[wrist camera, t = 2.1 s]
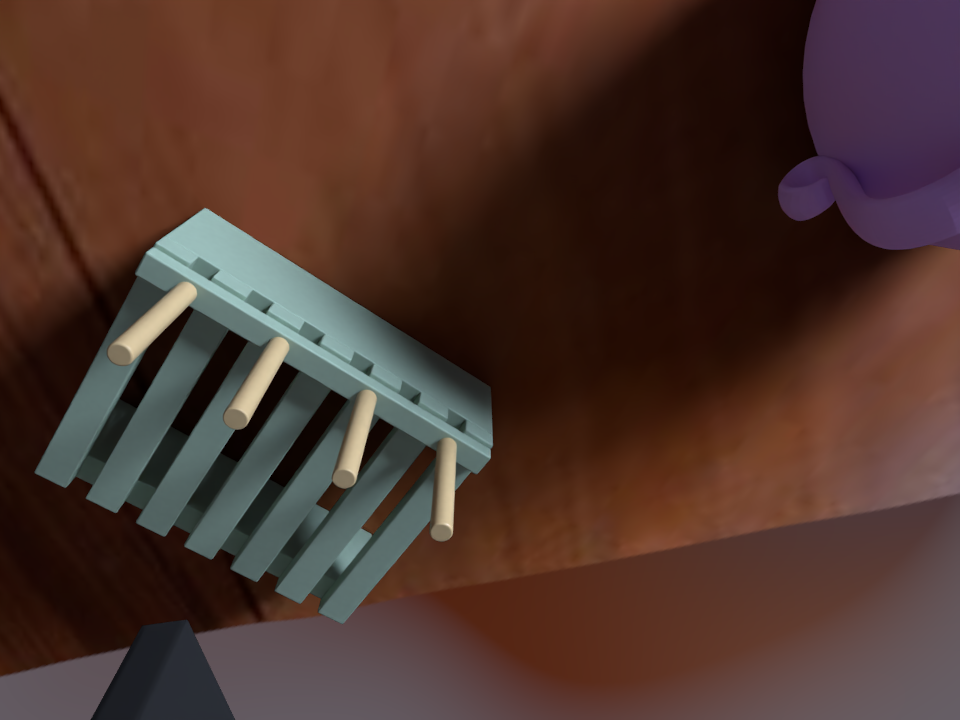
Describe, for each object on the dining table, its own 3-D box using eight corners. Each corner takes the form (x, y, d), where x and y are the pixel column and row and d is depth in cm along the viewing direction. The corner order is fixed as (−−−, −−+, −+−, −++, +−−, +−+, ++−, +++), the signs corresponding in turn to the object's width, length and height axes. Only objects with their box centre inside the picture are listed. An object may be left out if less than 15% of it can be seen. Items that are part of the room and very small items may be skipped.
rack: (93, 411, 40) (-67, 576, 28) (205, 207, 35) (67, 303, 23) (358, 550, 44) (316, 743, 32) (491, 386, 39) (497, 544, 27)
